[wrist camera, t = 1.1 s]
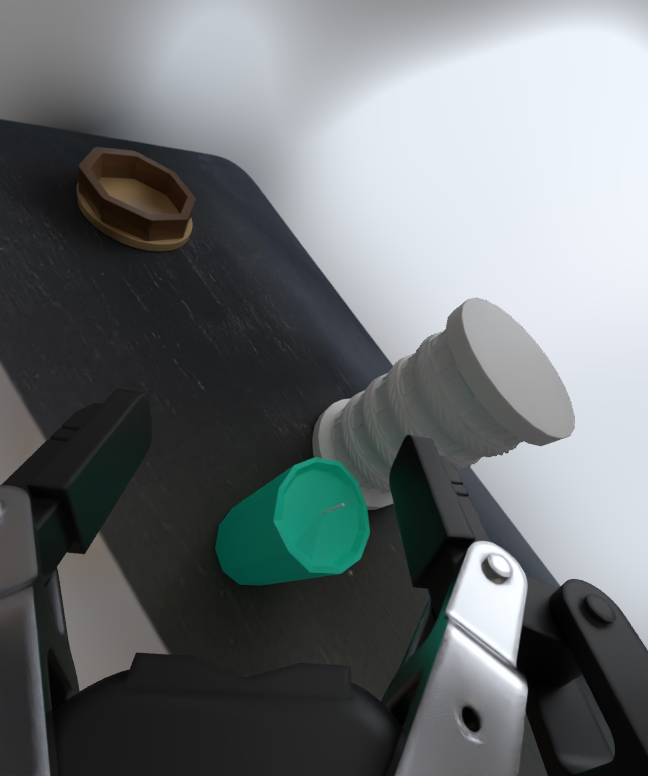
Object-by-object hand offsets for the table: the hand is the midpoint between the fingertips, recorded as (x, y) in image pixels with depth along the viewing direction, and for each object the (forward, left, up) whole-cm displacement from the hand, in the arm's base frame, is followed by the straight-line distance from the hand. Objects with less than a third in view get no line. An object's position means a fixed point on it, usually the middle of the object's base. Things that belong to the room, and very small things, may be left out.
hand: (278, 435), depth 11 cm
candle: (+6, 0, -17) cm, 18 cm away
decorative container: (+17, +9, -17) cm, 26 cm away
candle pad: (-10, +30, -17) cm, 36 cm away
